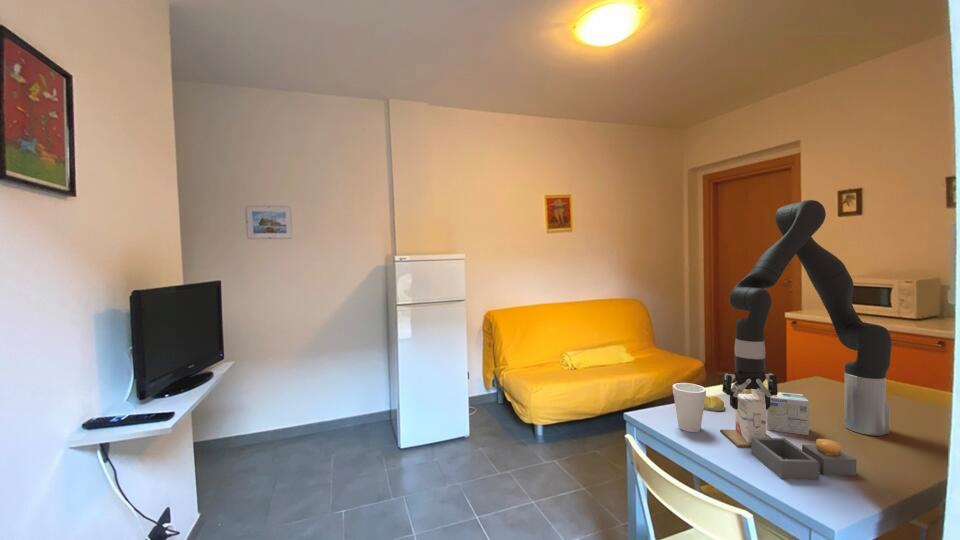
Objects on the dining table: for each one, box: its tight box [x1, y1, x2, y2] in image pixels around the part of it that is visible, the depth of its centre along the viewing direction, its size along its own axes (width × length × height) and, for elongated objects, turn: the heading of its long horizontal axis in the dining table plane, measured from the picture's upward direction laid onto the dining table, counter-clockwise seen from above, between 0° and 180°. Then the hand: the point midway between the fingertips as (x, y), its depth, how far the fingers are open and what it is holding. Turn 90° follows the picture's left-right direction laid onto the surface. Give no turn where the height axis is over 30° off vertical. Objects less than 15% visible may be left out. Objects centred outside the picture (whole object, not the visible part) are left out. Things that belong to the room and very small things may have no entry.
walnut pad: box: [719, 429, 772, 449], centre depth 120 cm, size 12×10×1 cm
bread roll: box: [704, 395, 725, 412], centre depth 146 cm, size 8×9×4 cm
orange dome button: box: [815, 438, 842, 455], centre depth 104 cm, size 5×5×6 cm
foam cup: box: [672, 382, 707, 433], centre depth 129 cm, size 10×9×13 cm
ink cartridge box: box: [735, 389, 767, 443], centre depth 120 cm, size 9×5×15 cm, turn 170°
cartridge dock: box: [750, 437, 857, 481], centre depth 105 cm, size 19×13×4 cm, turn 85°
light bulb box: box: [766, 391, 810, 436], centre depth 127 cm, size 11×7×11 cm, turn 65°
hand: (749, 408), depth 120 cm, fingers open, 8 cm apart
